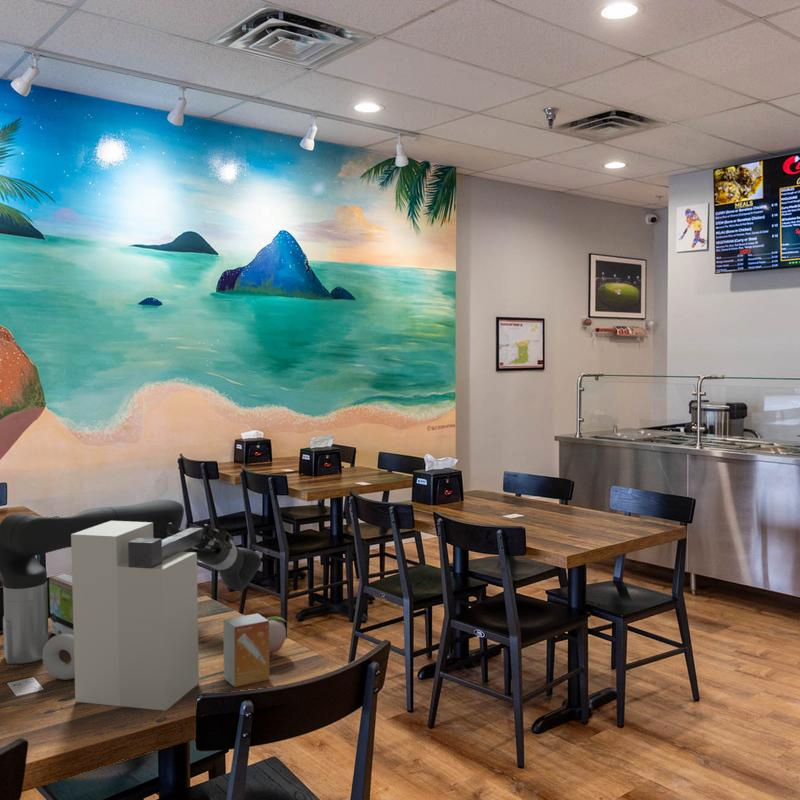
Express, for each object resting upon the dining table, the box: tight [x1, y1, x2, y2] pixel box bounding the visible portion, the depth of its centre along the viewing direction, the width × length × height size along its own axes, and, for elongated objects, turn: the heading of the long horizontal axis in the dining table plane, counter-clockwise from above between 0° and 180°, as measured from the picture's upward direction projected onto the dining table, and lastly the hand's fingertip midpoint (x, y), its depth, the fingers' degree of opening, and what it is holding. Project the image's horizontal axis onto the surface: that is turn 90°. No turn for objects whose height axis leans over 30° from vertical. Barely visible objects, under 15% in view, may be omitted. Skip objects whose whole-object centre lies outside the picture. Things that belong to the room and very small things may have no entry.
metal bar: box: [128, 527, 204, 569], centre depth 172 cm, size 24×5×5 cm, turn 167°
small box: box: [223, 613, 270, 688], centre depth 176 cm, size 8×6×13 cm
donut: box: [41, 633, 75, 681], centre depth 177 cm, size 10×4×10 cm, turn 82°
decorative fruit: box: [265, 613, 287, 656], centre depth 189 cm, size 9×8×10 cm
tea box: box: [48, 571, 74, 636], centre depth 205 cm, size 15×10×15 cm, turn 49°
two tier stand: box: [70, 521, 200, 712], centre depth 169 cm, size 14×20×34 cm
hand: (186, 527), depth 179 cm, fingers open, 8 cm apart
